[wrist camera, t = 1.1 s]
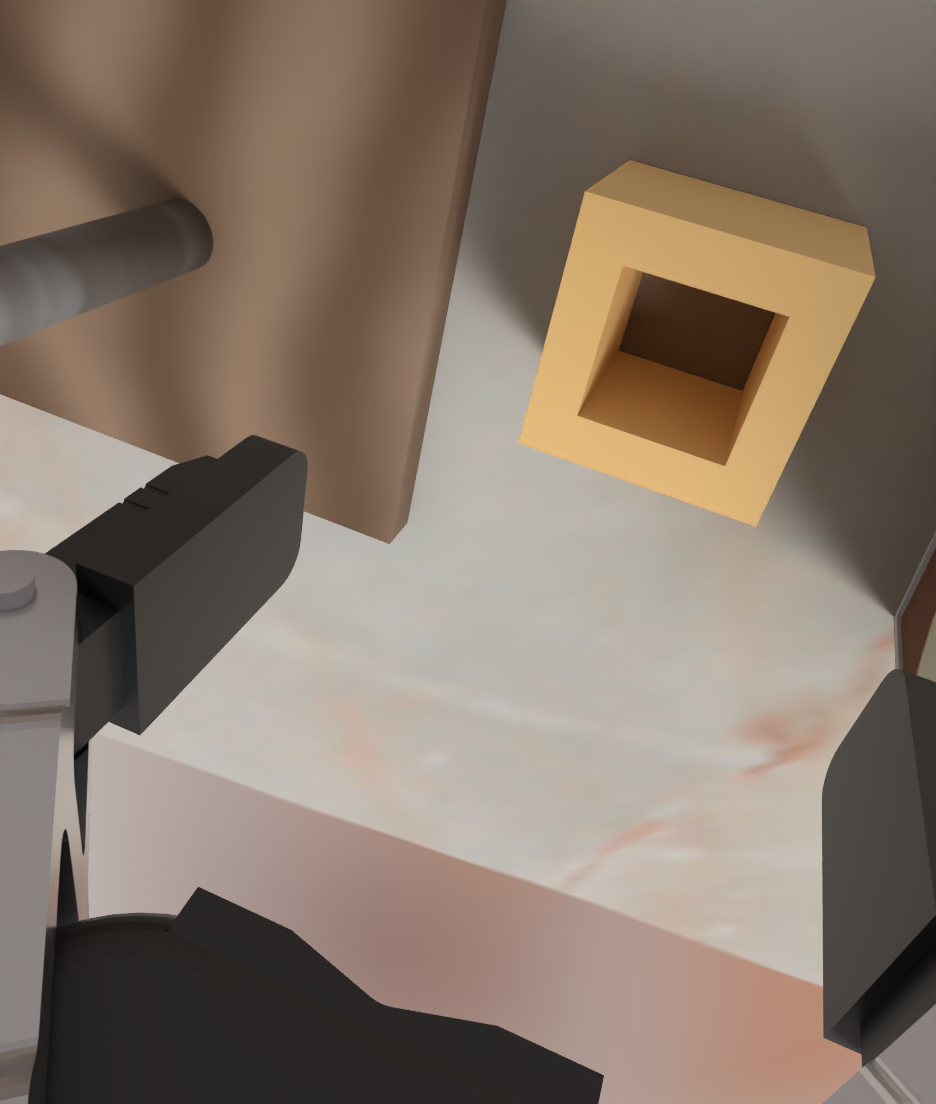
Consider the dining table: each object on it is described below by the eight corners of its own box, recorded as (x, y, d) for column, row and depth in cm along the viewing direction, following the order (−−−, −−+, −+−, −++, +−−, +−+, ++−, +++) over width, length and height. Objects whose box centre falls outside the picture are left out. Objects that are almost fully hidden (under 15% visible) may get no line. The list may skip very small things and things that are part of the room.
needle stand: (509, -17, 21) (158, -59, 10) (406, 522, 30) (168, 807, 19) (-36, -156, 23) (-778, -308, 13) (25, 378, 33) (-374, 555, 22)
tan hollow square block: (866, 227, 21) (875, 276, 17) (768, 442, 24) (755, 526, 20) (629, 159, 22) (585, 191, 18) (567, 375, 25) (518, 443, 21)
